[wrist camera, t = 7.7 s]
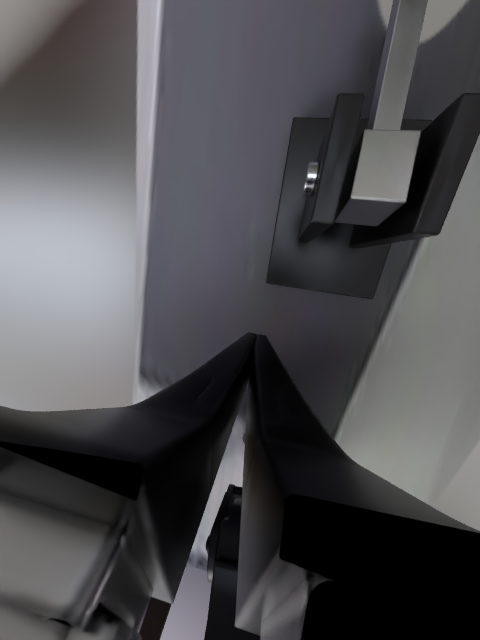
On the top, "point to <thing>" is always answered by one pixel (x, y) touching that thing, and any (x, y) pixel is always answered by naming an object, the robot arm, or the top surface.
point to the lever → (386, 128)
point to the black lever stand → (326, 188)
